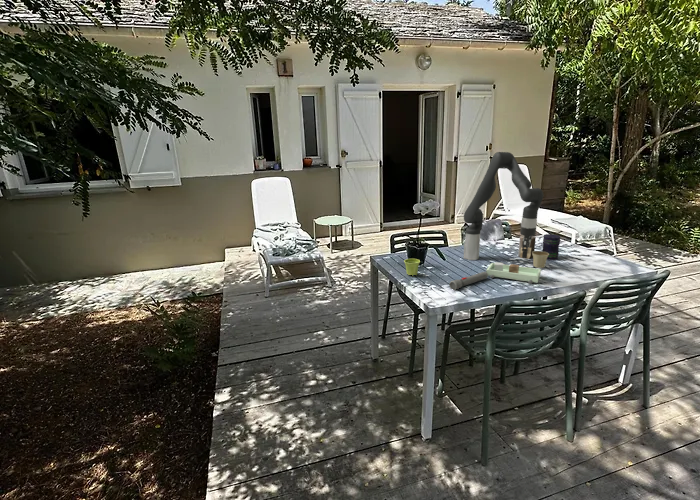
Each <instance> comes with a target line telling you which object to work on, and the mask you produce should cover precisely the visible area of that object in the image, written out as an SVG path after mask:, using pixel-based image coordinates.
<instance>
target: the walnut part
mask: <svg viewBox="0 0 700 500" xmlns="http://www.w3.org/2000/svg"><path fill="white" fill-rule="evenodd" d="M509 265H510V266H509V272H512V273H519V266H520V265H519V264H513V263H510V264H509Z"/></svg>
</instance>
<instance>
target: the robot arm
mask: <svg viewBox="0 0 700 500" xmlns="http://www.w3.org/2000/svg"><path fill="white" fill-rule="evenodd" d="M499 169H504V170H505V169H507V170H508V171H509V172H510V173H511V181H512V183H513V185H514V186H515V188H517V190H518V193H519V196H520V198H521V200H522V201H523V202H525V203H529V205H526V206H524V207H523V209H522V218H521V223H520V234H519V235H520V236H522V235H524V238H523V242H522V251H523V254H522V258H521V259H526V258H527V252H528V248H530V245H531V240H532V236H536V233H537V223H538V211H539V209H540V206H541V204H542V202H543V198H544V192H543V189H541V188H539V187H535V188H532V182H531V181H530V179H529V177H527V175H526V174H525V173H524V172H523V170H522V169H521V167H520V165H519V163H518V161H517V159H516V157H515V156H514V154H512V153H511V152H508V151H497V152H495V153H494V154H493V156H492V158H491V160H490V161H489V165H488V167H487V170H486V173H485V174H484V176H483V178H482V181H481V182H480V185H479V187H478V188H477V191H476V192H475V195H474V196H473V198H472V200H471V202H470V203H469V205H468V206H467V208H466V209H465V211H464V214H463V220H464V222H465V224H470V225H469V226H467V228H465V239H464V245H463V259H464V260H469V261H475V260H476V261H477V260H479V258H480V245H481V243H480V241H481V231H482V230H483V224H484V223H483V221H484V220H483V219H484V213H483V210H482V209H480V208H481V207H482V206H483V205H485V204H486V203H487V202H488V201H489V200H490V199H491V198H492V197H493V195H494V192H495V191H496V188H497V182H496V175H497V172H499ZM524 248H526V249H524Z"/></svg>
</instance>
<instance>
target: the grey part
mask: <svg viewBox="0 0 700 500" xmlns="http://www.w3.org/2000/svg"><path fill="white" fill-rule="evenodd" d="M494 263H495V270H497V271H503V264H504V262H496V261H495V262H494Z"/></svg>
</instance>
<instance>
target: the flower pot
mask: <svg viewBox="0 0 700 500" xmlns="http://www.w3.org/2000/svg"><path fill="white" fill-rule="evenodd" d="M532 254H533V258H532V261H533V267H535V268H536V269H542V268H545V267H546V264H547V257H548V255H549V253H547V252H543V251H542V250H534V252H532Z"/></svg>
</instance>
